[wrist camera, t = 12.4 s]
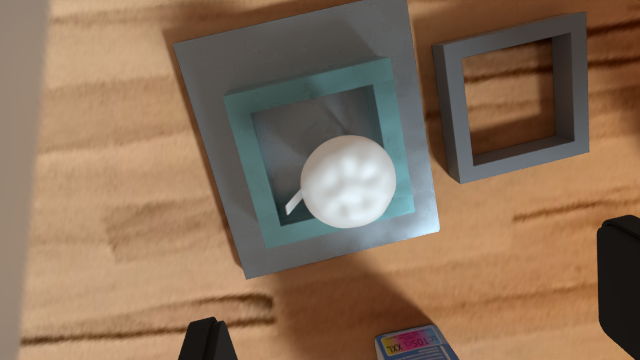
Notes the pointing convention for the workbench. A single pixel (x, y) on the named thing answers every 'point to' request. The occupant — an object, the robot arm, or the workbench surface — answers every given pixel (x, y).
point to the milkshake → (344, 177)
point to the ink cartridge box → (414, 345)
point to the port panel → (309, 125)
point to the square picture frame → (567, 97)
